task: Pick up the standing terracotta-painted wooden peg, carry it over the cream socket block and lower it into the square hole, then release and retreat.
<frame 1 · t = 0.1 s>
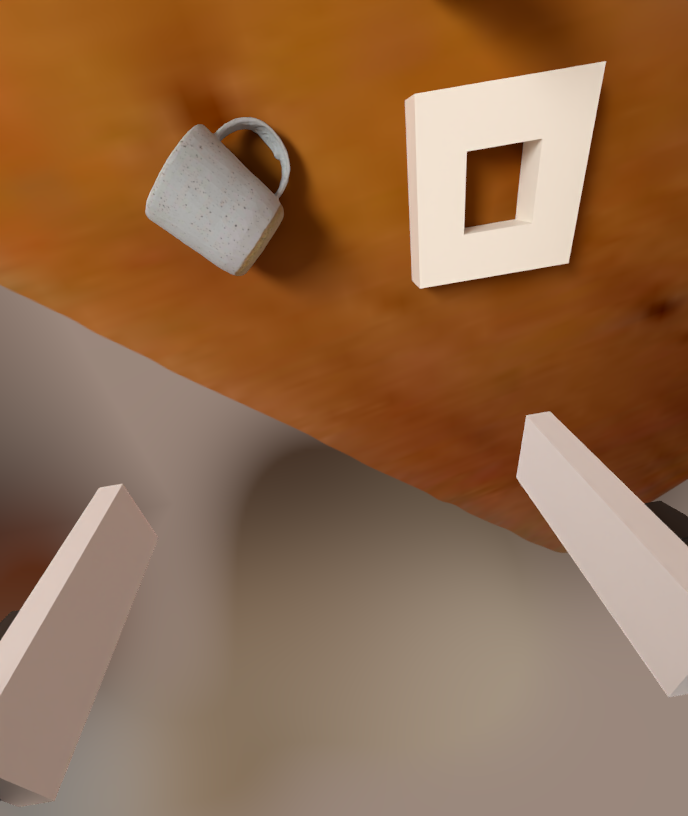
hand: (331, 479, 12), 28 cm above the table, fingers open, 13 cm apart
socket block: (486, 187, 33), on the table
ceramic mug: (234, 189, 32), on the table
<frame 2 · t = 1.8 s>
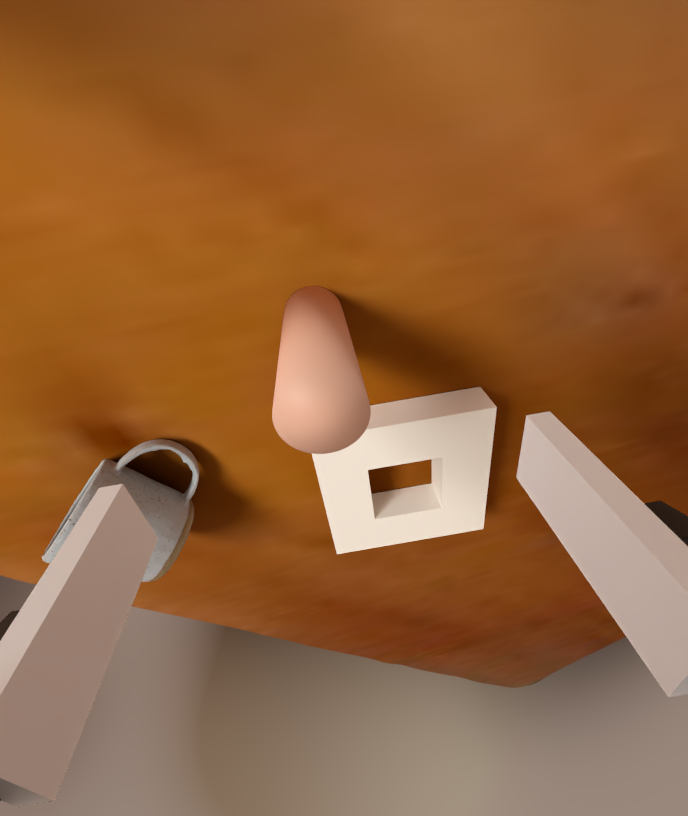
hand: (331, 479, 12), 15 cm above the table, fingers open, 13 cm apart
socket block: (398, 465, 33), on the table
ceramic mug: (148, 476, 32), on the table
peg: (313, 315, 25), on the table
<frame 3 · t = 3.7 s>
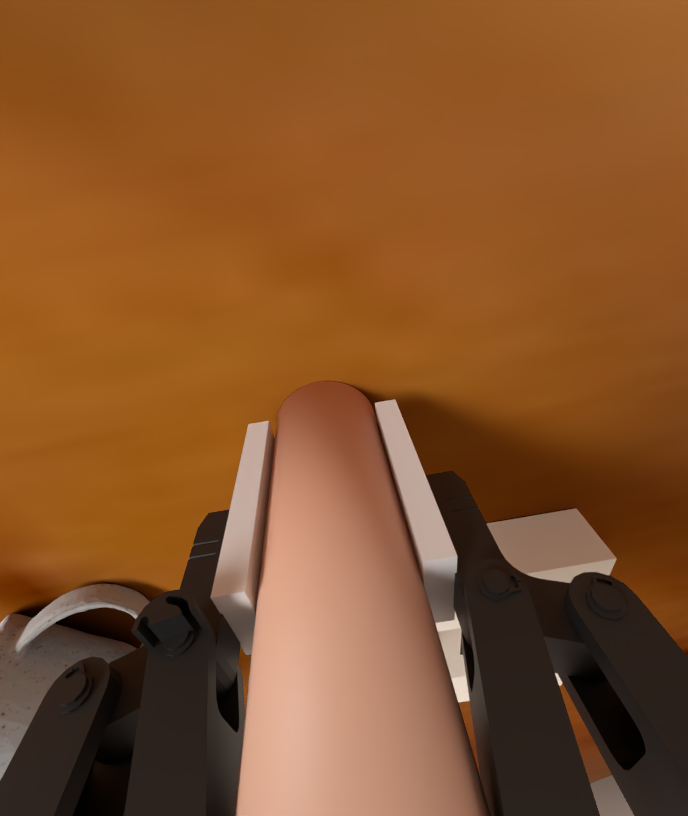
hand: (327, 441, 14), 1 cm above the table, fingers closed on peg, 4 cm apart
socket block: (444, 601, 23), on the table
ceramic mug: (85, 622, 22), on the table
peg: (326, 424, 15), on the table, touching gripper
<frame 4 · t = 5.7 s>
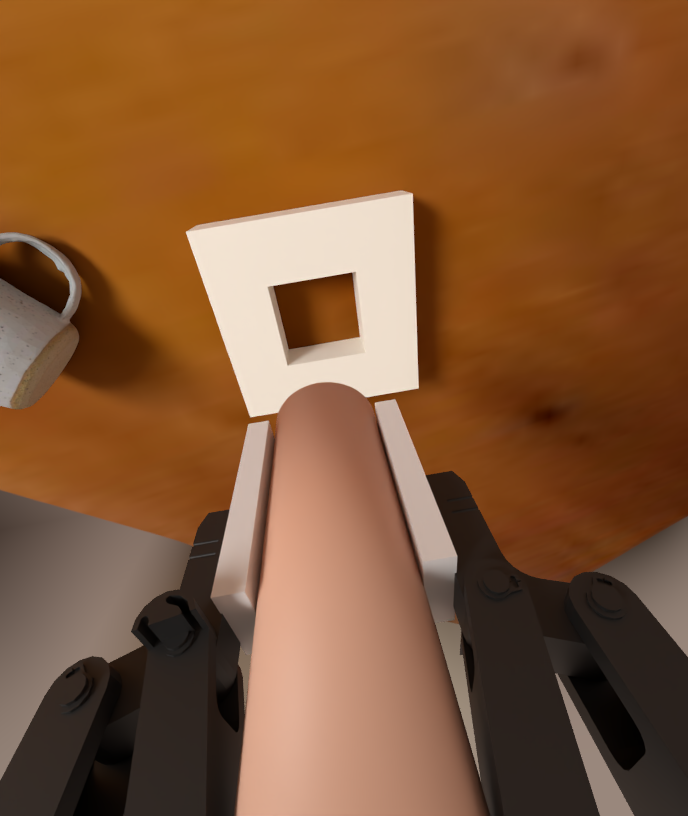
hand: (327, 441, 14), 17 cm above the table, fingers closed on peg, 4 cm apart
socket block: (318, 308, 29), on the table
ceramic mug: (26, 300, 27), on the table
peg: (326, 425, 15), point 16 cm above the table, touching gripper
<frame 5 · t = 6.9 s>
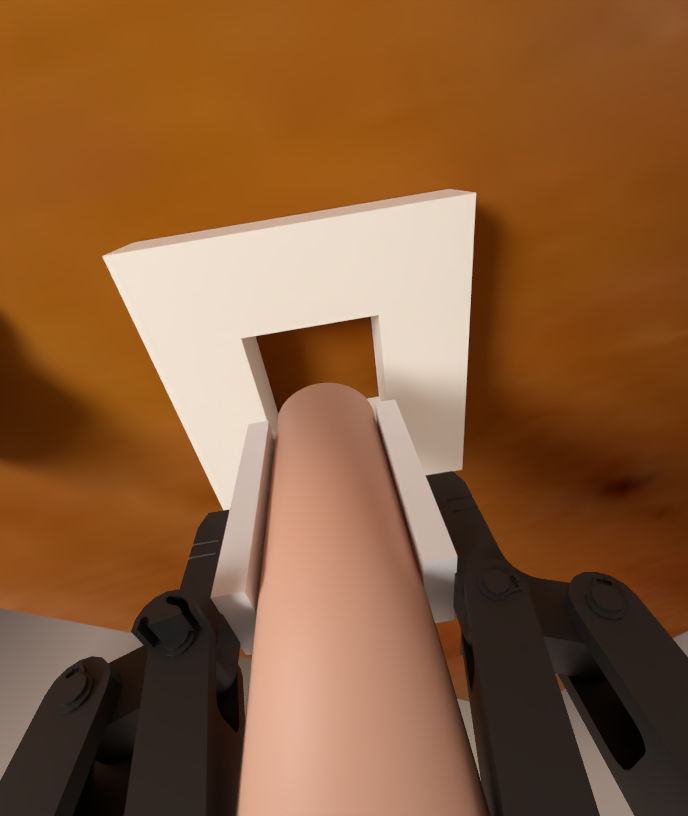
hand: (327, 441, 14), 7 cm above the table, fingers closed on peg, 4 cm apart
socket block: (319, 359, 20), on the table
peg: (326, 425, 15), point 6 cm above the table, touching gripper
when the fingers open (4 cm above the table, at t = 7.7 s): peg drops 3 cm, resting in socket block.
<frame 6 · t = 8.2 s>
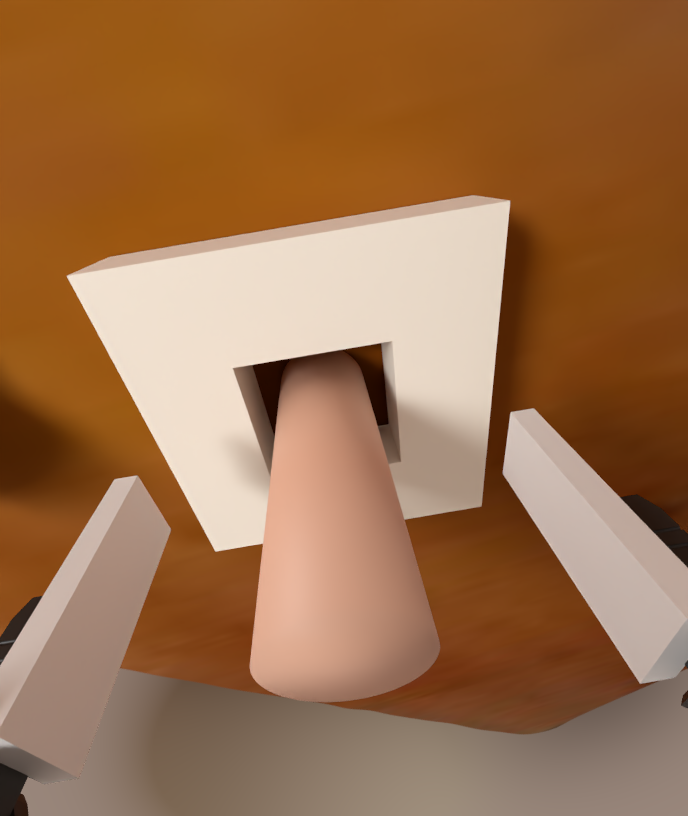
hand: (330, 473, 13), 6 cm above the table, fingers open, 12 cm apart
socket block: (322, 384, 18), on the table
peg: (322, 385, 18), resting in socket block
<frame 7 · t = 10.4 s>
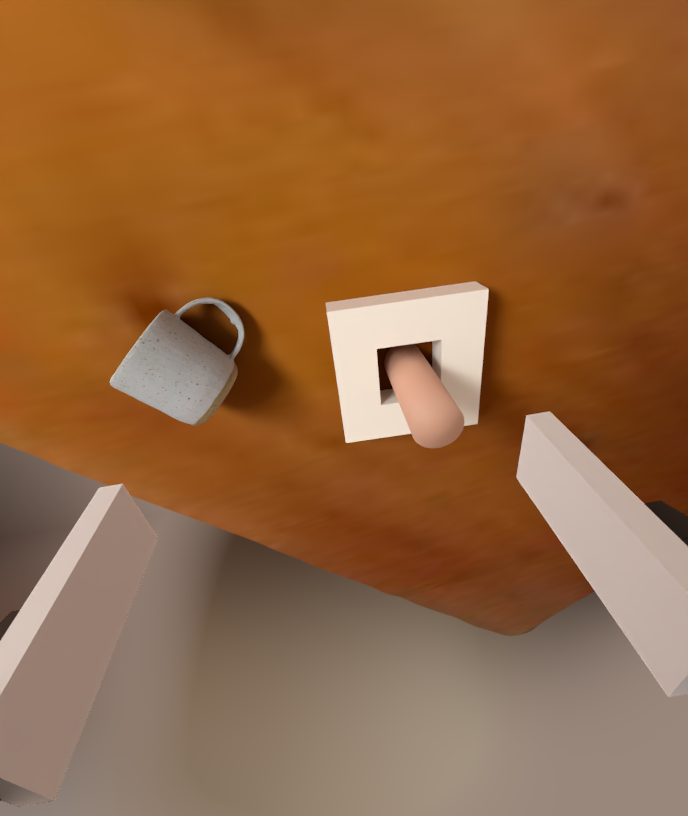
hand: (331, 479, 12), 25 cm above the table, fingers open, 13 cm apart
socket block: (403, 361, 38), on the table
ceramic mug: (196, 343, 35), on the table
peg: (403, 361, 38), resting in socket block
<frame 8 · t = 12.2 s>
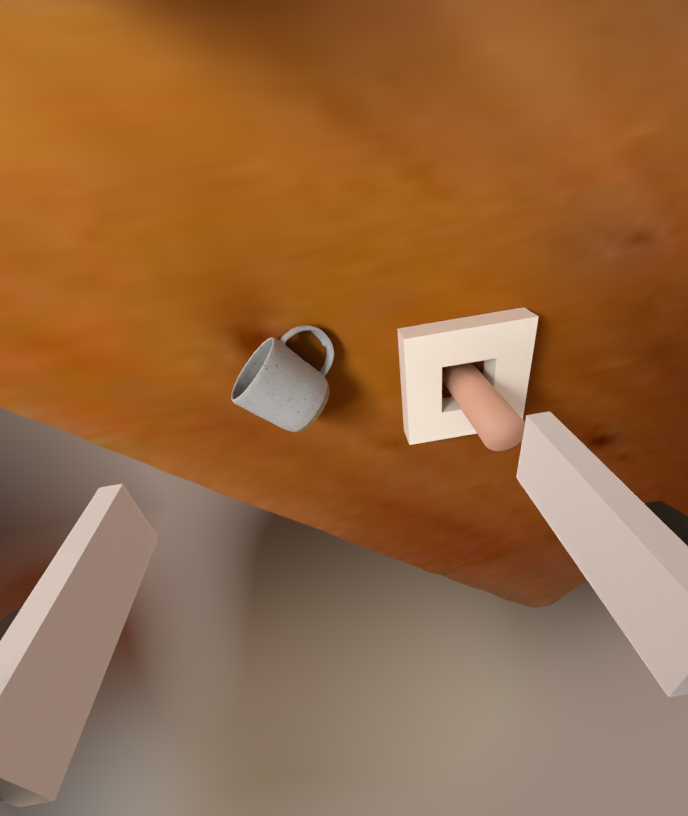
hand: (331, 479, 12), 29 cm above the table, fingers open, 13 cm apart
socket block: (458, 374, 44), on the table
ceramic mug: (289, 361, 41), on the table
peg: (458, 374, 44), resting in socket block
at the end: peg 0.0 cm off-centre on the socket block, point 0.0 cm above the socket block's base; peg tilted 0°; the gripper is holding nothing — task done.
